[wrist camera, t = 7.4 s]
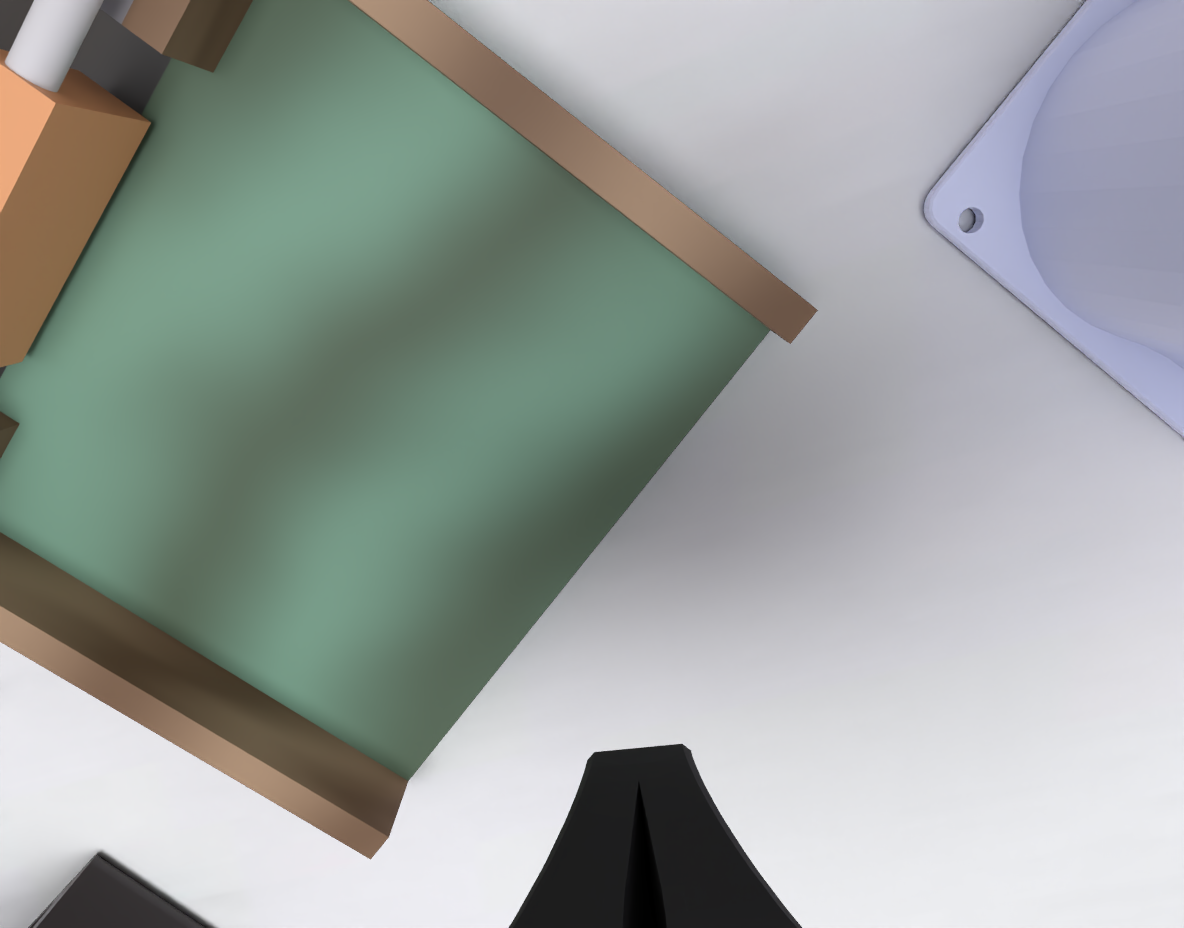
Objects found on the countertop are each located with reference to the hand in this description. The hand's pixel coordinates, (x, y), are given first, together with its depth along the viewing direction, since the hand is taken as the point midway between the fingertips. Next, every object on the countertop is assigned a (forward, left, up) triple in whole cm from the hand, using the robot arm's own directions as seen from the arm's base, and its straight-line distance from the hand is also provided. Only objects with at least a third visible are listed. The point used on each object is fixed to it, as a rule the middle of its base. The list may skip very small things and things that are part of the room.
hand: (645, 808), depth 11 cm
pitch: (+12, +1, -9) cm, 15 cm away
